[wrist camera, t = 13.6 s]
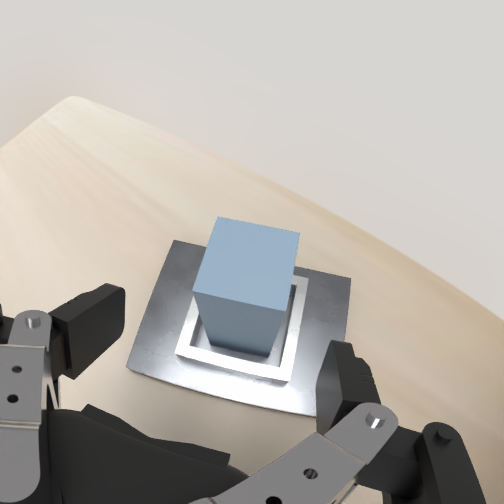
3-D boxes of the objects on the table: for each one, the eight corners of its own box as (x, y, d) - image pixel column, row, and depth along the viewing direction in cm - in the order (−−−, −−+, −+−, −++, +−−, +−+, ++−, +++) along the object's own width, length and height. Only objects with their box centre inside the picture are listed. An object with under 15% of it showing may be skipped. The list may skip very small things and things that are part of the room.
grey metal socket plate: (347, 284, 28) (358, 267, 25) (327, 418, 22) (339, 417, 19) (176, 247, 29) (170, 226, 27) (130, 370, 23) (116, 361, 20)
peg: (279, 304, 25) (300, 233, 17) (268, 358, 23) (286, 311, 15) (224, 292, 26) (217, 216, 17) (210, 344, 23) (192, 290, 15)
